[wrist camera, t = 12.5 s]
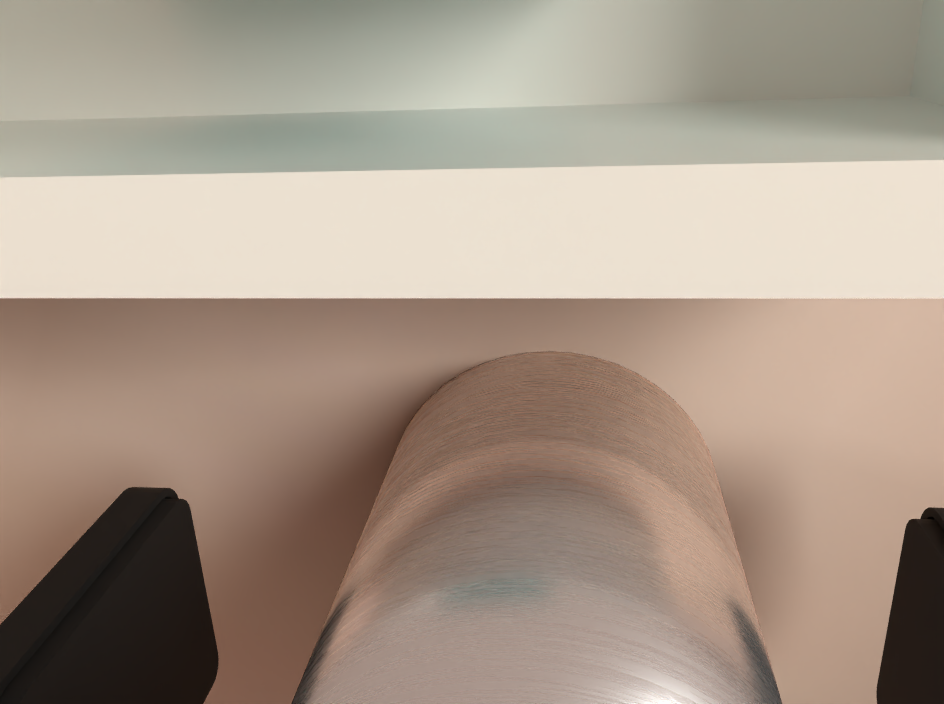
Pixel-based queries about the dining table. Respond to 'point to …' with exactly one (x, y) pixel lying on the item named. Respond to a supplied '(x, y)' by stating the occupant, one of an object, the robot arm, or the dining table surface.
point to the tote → (471, 148)
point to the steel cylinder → (545, 554)
